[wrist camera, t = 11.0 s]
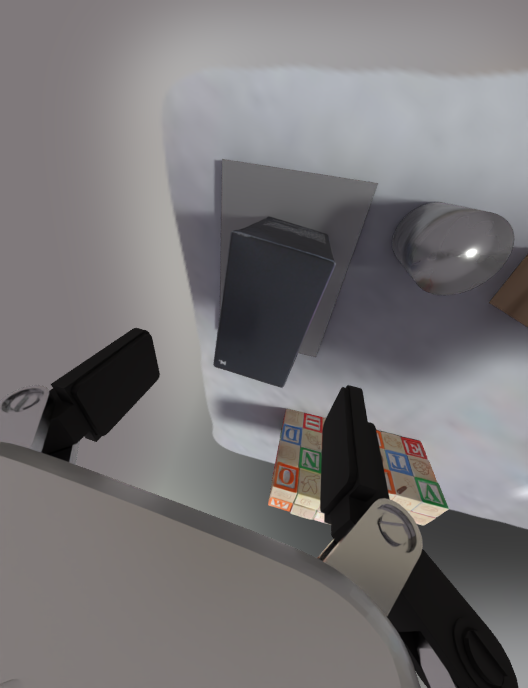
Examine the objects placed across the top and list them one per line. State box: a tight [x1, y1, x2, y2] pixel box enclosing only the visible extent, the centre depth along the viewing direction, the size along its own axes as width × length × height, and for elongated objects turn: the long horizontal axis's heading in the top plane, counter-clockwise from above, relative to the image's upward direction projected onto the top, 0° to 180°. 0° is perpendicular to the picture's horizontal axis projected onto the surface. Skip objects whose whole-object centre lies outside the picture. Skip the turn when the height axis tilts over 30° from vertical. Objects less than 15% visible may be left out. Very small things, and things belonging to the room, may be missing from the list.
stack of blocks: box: [268, 409, 449, 525], centre depth 32 cm, size 21×6×12 cm, turn 85°
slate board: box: [220, 159, 378, 357], centre depth 23 cm, size 13×18×1 cm
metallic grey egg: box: [392, 202, 514, 295], centre depth 16 cm, size 5×5×7 cm
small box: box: [214, 216, 336, 388], centre depth 19 cm, size 11×6×10 cm, turn 167°
